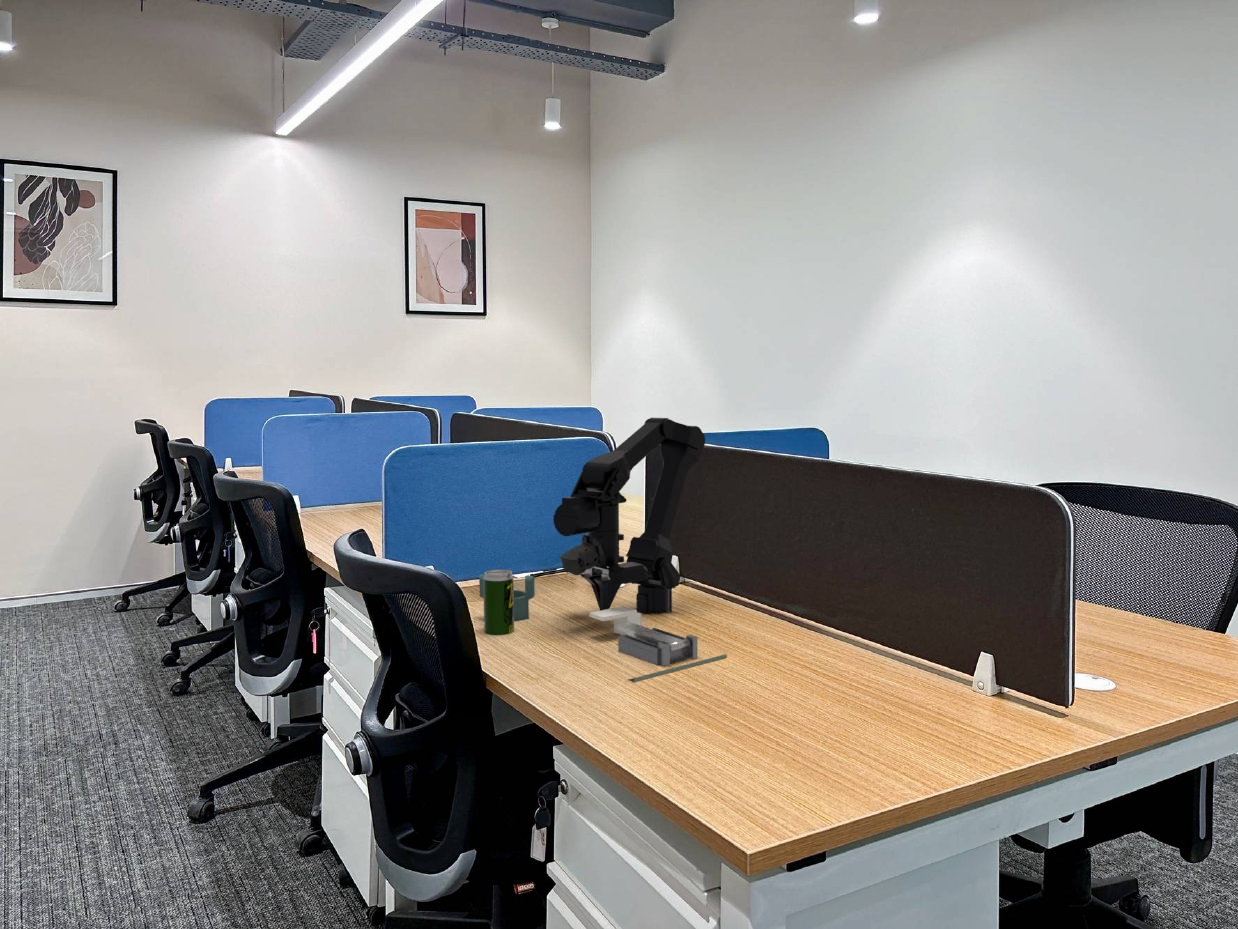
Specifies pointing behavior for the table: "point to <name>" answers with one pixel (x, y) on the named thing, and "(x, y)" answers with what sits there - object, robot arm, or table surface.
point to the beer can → (498, 602)
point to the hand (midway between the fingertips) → (604, 612)
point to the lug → (618, 617)
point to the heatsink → (657, 649)
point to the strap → (653, 636)
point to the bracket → (517, 597)
